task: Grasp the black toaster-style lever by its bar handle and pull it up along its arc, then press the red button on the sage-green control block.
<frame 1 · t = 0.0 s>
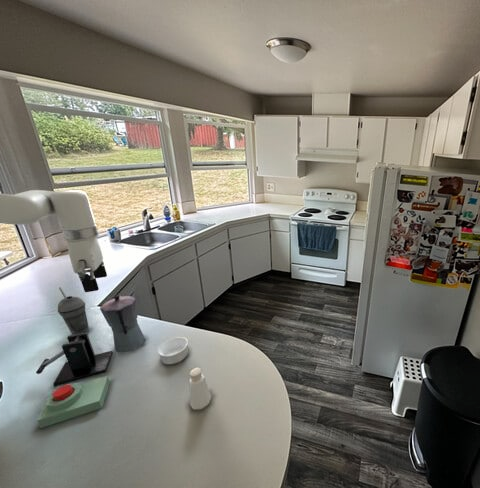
hand: (96, 283, 80), 26 cm above the table, tool pointing down, fingers open, 9 cm apart
ramekin: (175, 356, 86), on the table
moka pot: (131, 345, 90), on the table
beverage cup: (81, 333, 95), on the table
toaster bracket: (86, 368, 80), on the table
stop button: (63, 392, 66), point 5 cm above the table, slide at 0.1 cm
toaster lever: (61, 353, 75), point 8 cm above the table, hinge at -30.0°
control block: (78, 403, 69), on the table
pepper shaker: (201, 401, 71), on the table
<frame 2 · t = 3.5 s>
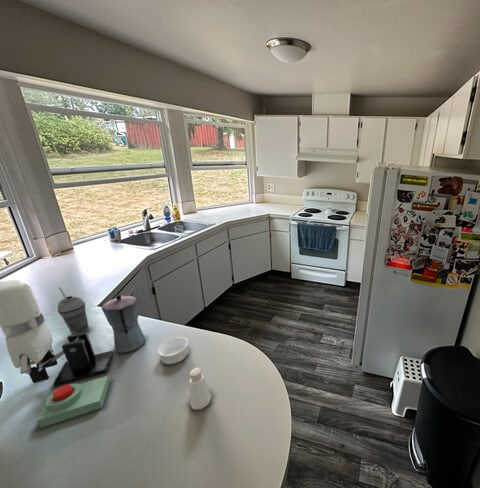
hand: (46, 372, 75), 2 cm above the table, tool pointing down, fingers closed on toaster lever, 5 cm apart
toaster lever: (61, 353, 75), point 8 cm above the table, hinge at -30.0°, touching gripper
everything else where it was.
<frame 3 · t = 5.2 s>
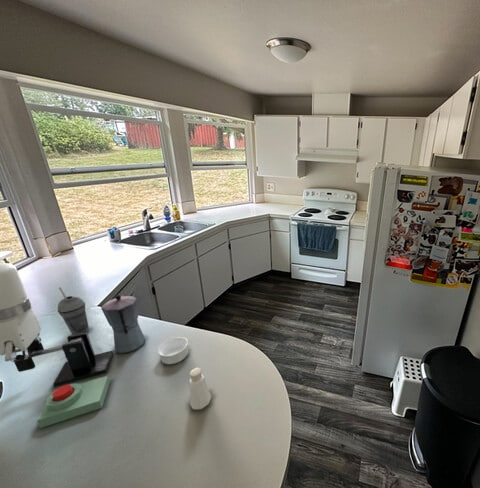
hand: (32, 361, 73), 7 cm above the table, tool pointing down, fingers closed on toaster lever, 5 cm apart
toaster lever: (56, 348, 74), point 10 cm above the table, hinge at -1.7°, touching gripper
everything else where it was.
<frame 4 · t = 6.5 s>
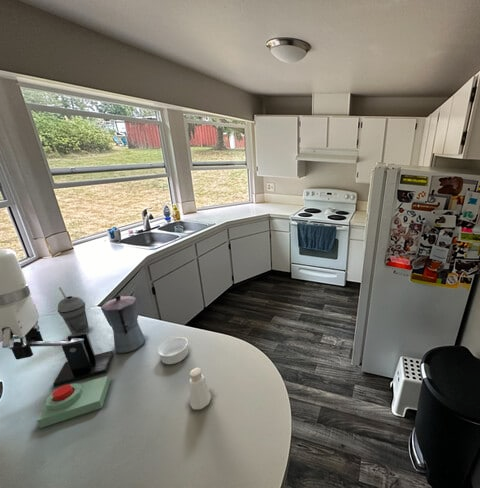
hand: (30, 349, 71), 12 cm above the table, tool pointing down, fingers closed on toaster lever, 5 cm apart
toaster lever: (55, 343, 74), point 12 cm above the table, hinge at 20.5°, touching gripper
everything else where it was.
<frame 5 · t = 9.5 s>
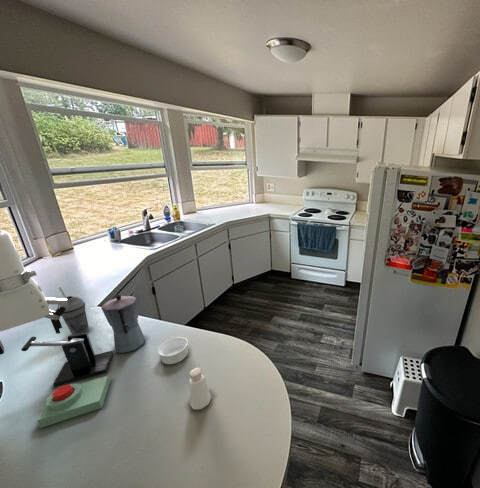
hand: (31, 340, 64), 19 cm above the table, tool pointing down, fingers open, 9 cm apart
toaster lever: (55, 343, 74), point 12 cm above the table, hinge at 21.0°
everything else where it was.
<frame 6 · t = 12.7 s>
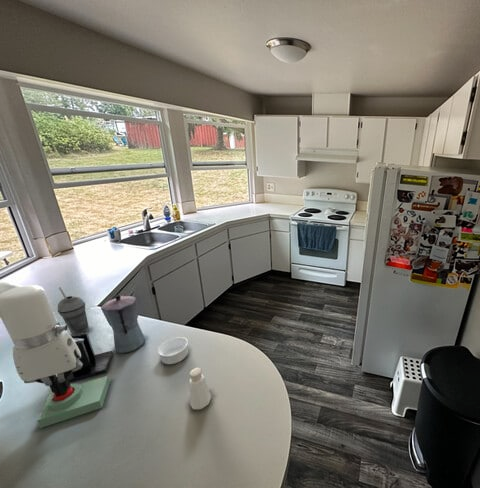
hand: (63, 391, 66), 6 cm above the table, tool pointing down, fingers closed
stop button: (63, 393, 67), point 5 cm above the table, slide at -0.3 cm, touching gripper
everything else where it was.
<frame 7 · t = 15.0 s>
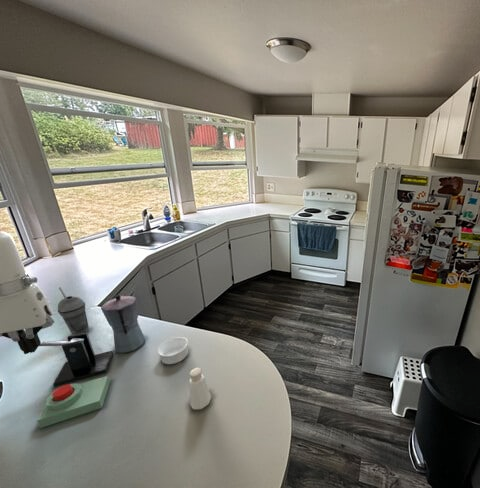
hand: (32, 349, 63), 18 cm above the table, tool pointing down, fingers closed
stop button: (63, 392, 66), point 5 cm above the table, slide at 0.1 cm
everything else where it was.
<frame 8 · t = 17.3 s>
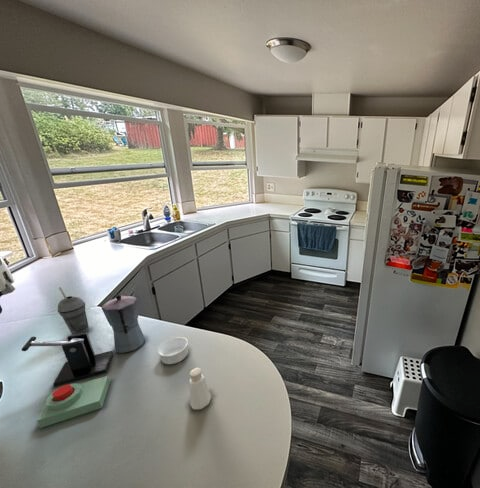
nothing on the table moved.
at the end: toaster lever at +21° (first picture: -30°); stop button pushed in 1.1 cm at the most during the clip, back to where it started at the end; stop button slide at 0.1 cm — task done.
